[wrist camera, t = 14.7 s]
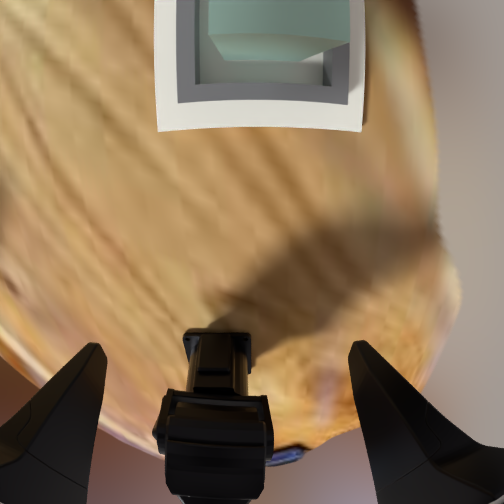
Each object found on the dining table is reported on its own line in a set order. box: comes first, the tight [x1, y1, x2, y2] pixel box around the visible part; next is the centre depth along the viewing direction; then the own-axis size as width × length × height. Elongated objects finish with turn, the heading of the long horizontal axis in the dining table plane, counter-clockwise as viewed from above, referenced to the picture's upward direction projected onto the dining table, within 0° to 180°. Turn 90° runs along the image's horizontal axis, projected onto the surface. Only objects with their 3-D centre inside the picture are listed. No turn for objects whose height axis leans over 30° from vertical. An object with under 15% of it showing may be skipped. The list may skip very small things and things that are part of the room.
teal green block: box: [208, 0, 350, 62], centre depth 10 cm, size 4×4×9 cm
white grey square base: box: [154, 0, 365, 132], centre depth 13 cm, size 13×13×3 cm
